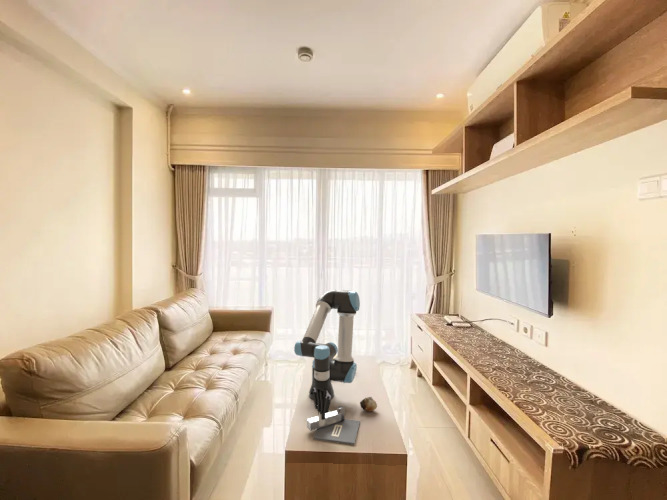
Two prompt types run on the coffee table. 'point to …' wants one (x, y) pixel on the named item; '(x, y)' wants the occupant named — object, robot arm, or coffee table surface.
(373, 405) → the seashell
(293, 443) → the coffee table surface
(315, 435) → the panel
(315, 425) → the swing bar
